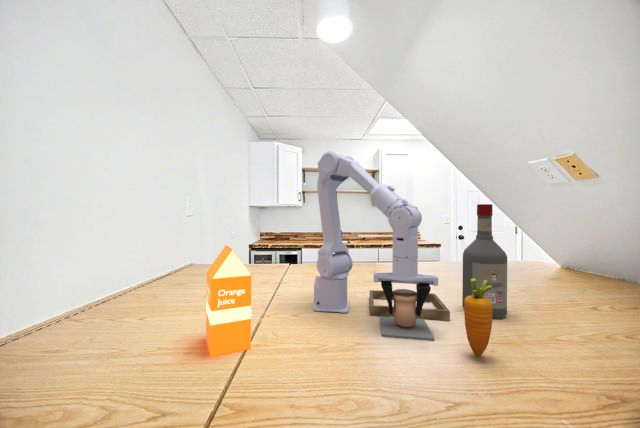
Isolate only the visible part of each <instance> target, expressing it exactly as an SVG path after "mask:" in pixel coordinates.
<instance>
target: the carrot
mask: <svg viewBox="0 0 640 428" xmlns="http://www.w3.org/2000/svg"><path fill="white" fill-rule="evenodd" d="M470 282H471V286H472V290H473V293H474V295H472V296H467V297H466V298H465V300H464V308H463V310H464V311H463V312H464V314H463V315H464V325H465V326H464V327H465V333H466V337H467V341H468V343H469V347H470V349H471V350H472V353H473V354H474V356H475V357H476V358H480V357H481V356H482V355H483V354H484V352H485V351H486V349H487V347H488V345H489V341H490V337H491V334H492V333H491V332H492V326H493V319H492V311H493V307H492V303H491V301H490V300H489V299H488V298H485V297H483V295H484V294H485V293H486V292H487V291H488V290H489V289H492V286H490V285H489V286H486V284H487V282H488V281H487V280H484V281H483V283H482V286H481V288H480V289H478V286H477V284H476V280H475V279H474V278H473V279H471V281H470ZM485 286H486V287H485Z"/></svg>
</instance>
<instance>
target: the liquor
mask: <svg viewBox="0 0 640 428" xmlns="http://www.w3.org/2000/svg"><path fill="white" fill-rule="evenodd" d="M476 216H477V224H476V225H477V226H476V227H477V229H476V230H477V231H476V235H475V238H474V240H473V241H472V242H471V243H470V244H469V245H467V247H466V248H465V249H463V250H464V251H463V253H462V303H461V304H462V309H464V300H465V298H466V297H467V296H472V295H474V293H473V290H472V286H471V282H470V281H471V279H473V278H474V279H475V280H476V284H477V286H478V289H480V288H481V286H482V283H483V281H484V280H487V281H488V282H487V284H486V286H489V285H490V286H492V289H489V290H488V291H487V292H486V293H485V294H484V295H483V297H485V298H488V299H489V300H490V301H491V303H492V307H493V311H492V320H503V319H504V318H505V317H506V316H507V314H508V255H507V253H506V252H505V250H504V249H503V248H501V246H500V245H499V244H498V243H497V242H495V240H494V235H493V223H492V222H493V219H492V218H493V204H491V203H490V204H488V203H487V204H483V203H480V204H479V203H478V204H476ZM486 286H485V287H486Z"/></svg>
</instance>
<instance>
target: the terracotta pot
mask: <svg viewBox="0 0 640 428" xmlns="http://www.w3.org/2000/svg"><path fill="white" fill-rule="evenodd" d="M392 298H393V299H394V300H393V306H394V322H395V323H396V324H397V325H400V326H404V327H411V326H414V325H416V303H417V301H416V300H417V291H416V290H415V291H414V290H412V289H406V288H398V289H394V290H392Z"/></svg>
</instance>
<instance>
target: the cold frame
mask: <svg viewBox="0 0 640 428" xmlns="http://www.w3.org/2000/svg"><path fill="white" fill-rule="evenodd" d="M374 300H386V301H387V299H386V296H385V293H384V291H383V290H377V289H376V290H375V289H369V316H373V317H374V316H376V317H380V316H384V317H394V305H392V308H393V314H389V306H388V305H380V304H379V305H378V304H377V305H376V304H375V303H374ZM392 301H394V299H393V298H392ZM416 302H417V300H416ZM424 303H432V304H433V306H434V307H435V308H423V307H422V311H421V316H417V314H416V319H424V320H429V321H431V320H432V321H444V322H450V321H451V311H450V309H449V308H448V307H447V306H446V305H445V304H444V303H443V301H442V300H441V299H440V297H438V295H437V294H436V293H431V292H429V294H428V296H427V297H426V299H425V302H424Z"/></svg>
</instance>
